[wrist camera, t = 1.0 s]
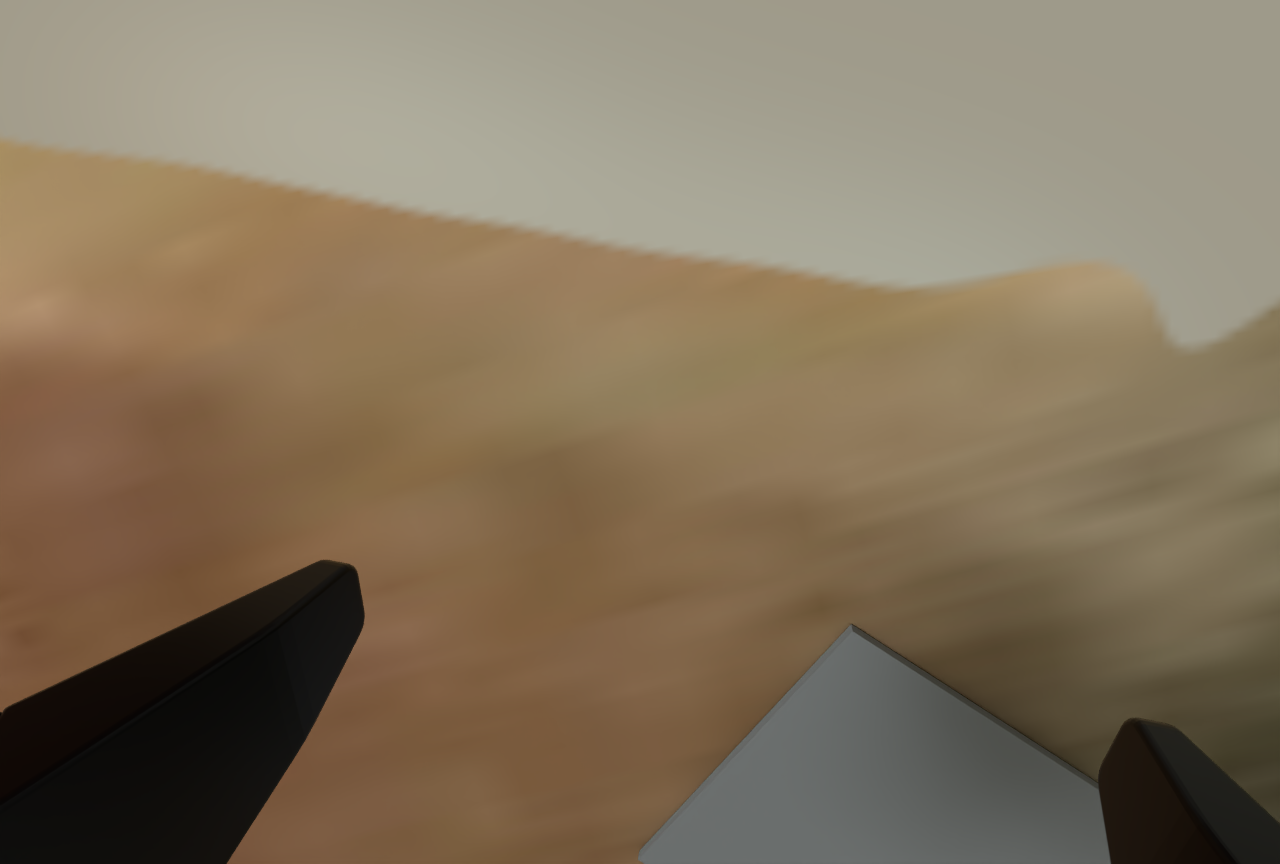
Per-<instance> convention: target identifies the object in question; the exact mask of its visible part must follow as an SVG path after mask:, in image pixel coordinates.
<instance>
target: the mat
mask: <svg viewBox="0 0 1280 864" xmlns="http://www.w3.org/2000/svg"><path fill="white" fill-rule="evenodd" d="M638 860H639V861H641V862H643V863H644V864H1111V863H1110V857H1109V850H1108V844H1107V838H1106V832H1105V826H1104V820H1103V814H1102V808H1101V801H1100V795H1099V788H1098V783H1097V782H1095V781H1094V780H1092V779H1091V778H1089V777H1087V776H1086V775H1084V774H1083V773H1081V772H1080V771H1078V770H1077V769H1075V768H1074V767H1072V766H1070V765H1069V764H1067V763H1066V762H1064V761H1063V760H1061V759H1060V758H1058V757H1057V756H1055V755H1053V754H1052V753H1050V752H1049V751H1047V750H1046V749H1044V748H1043V747H1041V746H1039V745H1038V744H1036V743H1035V742H1033V741H1032V740H1030V739H1029V738H1027V737H1026V736H1024V735H1022V734H1021V733H1019V732H1018V731H1016V730H1015V729H1013V728H1012V727H1010V726H1008V725H1007V724H1005V723H1004V722H1002V721H1001V720H999V719H998V718H996V717H995V716H993V715H991V714H990V713H988V712H987V711H985V710H984V709H982V708H981V707H979V706H977V705H976V704H974V703H973V702H971V701H970V700H968V699H967V698H965V697H964V696H962V695H960V694H959V693H957V692H956V691H954V690H953V689H951V688H950V687H948V686H947V685H945V684H943V683H942V682H940V681H939V680H937V679H936V678H934V677H933V676H931V675H929V674H928V673H926V672H925V671H923V670H922V669H920V668H919V667H917V666H916V665H914V664H912V663H911V662H909V661H908V660H906V659H905V658H903V657H902V656H900V655H898V654H897V653H895V652H894V651H892V650H891V649H889V648H888V647H886V646H885V645H883V644H881V643H880V642H878V641H877V640H875V639H874V638H872V637H871V636H869V635H868V634H866V633H864V632H863V631H861V630H860V629H858V628H857V627H855V626H854V625H852V624H851V625H850V626H849V627H848V628H847V629H846V630H845V631H844V632H843V633H842V634H841V636H840V637H839V638H838V639H837V640H836V641H835V642H834V643H833V644H832V645H831V646H830V647H829V648H828V649H827V651H826V652H825V653H824V654H823V655H822V656H821V657H820V658H819V659H818V660H817V661H816V662H815V663H814V664H813V666H812V667H811V668H810V669H809V670H808V671H807V672H806V673H805V674H804V675H803V676H802V677H801V678H800V679H799V681H798V682H797V683H796V684H795V685H794V686H793V687H792V688H791V689H790V690H789V691H788V692H787V693H786V694H785V695H784V697H783V698H782V699H781V700H780V701H779V702H778V703H777V704H776V705H775V706H774V707H773V708H772V709H771V710H770V712H769V713H768V714H767V715H766V716H765V717H764V718H763V719H762V720H761V721H760V722H759V723H758V724H757V725H756V727H755V728H754V729H753V730H752V731H751V732H750V733H749V734H748V735H747V736H746V737H745V738H744V739H743V740H742V742H741V743H740V744H739V745H738V746H737V747H736V748H735V749H734V750H733V751H732V752H731V753H730V754H729V755H728V757H727V758H726V759H725V760H724V761H723V762H722V763H721V764H720V765H719V766H718V767H717V768H716V769H715V770H714V772H713V773H712V774H711V775H710V776H709V777H708V778H707V779H706V780H705V781H704V782H703V783H702V784H701V785H700V786H699V788H698V789H697V790H696V791H695V792H694V793H693V794H692V795H691V796H690V797H689V798H688V799H687V800H686V801H685V803H684V804H683V805H682V806H681V807H680V808H679V809H678V810H677V811H676V812H675V813H674V814H673V815H672V816H671V818H670V819H669V820H668V821H667V822H666V823H665V824H664V825H663V826H662V827H661V828H660V829H659V830H658V831H657V833H656V834H655V835H654V836H653V837H652V838H651V839H650V840H649V841H648V842H647V843H646V844H645V845H644V846H643V848H642V849H641V850H640V851H639V857H638Z"/></svg>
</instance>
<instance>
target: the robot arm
mask: <svg viewBox="0 0 1280 864" xmlns="http://www.w3.org/2000/svg"><path fill="white" fill-rule="evenodd" d="M364 617H365V614H364V606H363V600H362V595H361V589H360V583H359V577H358V573H357V570H356V569H355V567H354V566H352V565H350V564H347V563H342V562H337V561H332V560H320V561H318V562H315V563H313V564H311V565H309V566H307V567H305V568H303V569H300V570H298V571H296V572H294V573H292V574H290V575H288V576H285V577H283V578H281V579H279V580H277V581H275V582H273V583H271V584H268V585H266V586H264V587H262V588H260V589H258V590H256V591H253V592H251V593H249V594H247V595H245V596H243V597H241V598H239V599H236V600H234V601H232V602H230V603H228V604H226V605H224V606H221V607H219V608H217V609H215V610H213V611H211V612H209V613H207V614H204V615H202V616H200V617H198V618H196V619H194V620H192V621H189V622H187V623H185V624H183V625H181V626H179V627H177V628H175V629H172V630H170V631H168V632H166V633H164V634H162V635H160V636H157V637H155V638H153V639H151V640H149V641H147V642H145V643H143V644H140V645H138V646H136V647H134V648H132V649H130V650H128V651H125V652H123V653H121V654H119V655H117V656H115V657H113V658H110V659H108V660H106V661H104V662H102V663H100V664H98V665H95V666H93V667H91V668H89V669H87V670H85V671H83V672H81V673H78V674H76V675H74V676H72V677H70V678H68V679H66V680H63V681H61V682H59V683H57V684H55V685H53V686H51V687H48V688H46V689H44V690H42V691H40V692H38V693H36V694H34V695H31V696H29V697H27V698H25V699H23V700H21V701H19V702H16V703H14V704H12V705H10V706H8V707H6V708H5V709H4V711H3V712H2V713H1V712H0V864H227V862H228V861H229V859H230V857H231V856H232V854H233V853H234V851H235V850H236V848H237V847H238V845H239V843H240V842H241V840H242V839H243V837H244V836H245V834H246V833H247V831H248V829H249V828H250V826H251V825H252V823H253V822H254V820H255V819H256V817H257V815H258V814H259V812H260V811H261V809H262V808H263V806H264V805H265V803H266V801H267V800H268V798H269V797H270V795H271V794H272V792H273V791H274V789H275V787H276V786H277V784H278V783H279V781H280V780H281V778H282V777H283V775H284V773H285V772H286V770H287V769H288V767H289V766H290V764H291V763H292V761H293V759H294V758H295V756H296V755H297V753H298V751H299V750H300V748H301V746H302V745H303V743H304V741H305V740H306V738H307V736H308V734H309V733H310V731H311V729H312V727H313V725H314V723H315V722H316V720H317V718H318V716H319V714H320V712H321V710H322V708H323V706H324V704H325V702H326V700H327V698H328V696H329V694H330V692H331V690H332V688H333V686H334V684H335V682H336V680H337V678H338V676H339V674H340V672H341V670H342V669H343V667H344V665H345V663H346V661H347V659H348V657H349V655H350V653H351V651H352V649H353V647H354V645H355V643H356V641H357V639H358V637H359V635H360V633H361V631H362V628H363V624H364ZM1098 788H1099V795H1100V801H1101V808H1102V814H1103V820H1104V826H1105V832H1106V838H1107V844H1108V850H1109V857H1110V863H1111V864H1280V823H1279V822H1277V821H1276V820H1275V819H1274V818H1273V817H1272V816H1271V815H1270V814H1269V813H1268V812H1267V811H1266V810H1265V809H1264V808H1262V807H1261V806H1260V805H1259V804H1258V803H1257V802H1256V801H1255V800H1254V799H1253V798H1252V797H1251V796H1250V795H1249V794H1247V793H1246V792H1245V791H1244V790H1243V789H1242V788H1241V787H1240V786H1239V785H1238V784H1237V783H1236V782H1235V781H1234V780H1232V779H1231V778H1230V777H1229V776H1228V775H1227V774H1226V773H1225V772H1224V771H1223V770H1222V769H1221V768H1220V767H1219V766H1217V765H1216V764H1215V763H1214V762H1213V761H1212V760H1211V759H1210V758H1209V757H1208V756H1207V755H1206V754H1205V753H1204V752H1202V751H1201V750H1200V749H1199V748H1198V747H1197V746H1196V745H1195V744H1194V743H1193V742H1192V741H1191V740H1190V739H1189V738H1188V737H1186V736H1185V735H1184V734H1183V733H1182V732H1181V731H1180V730H1178V729H1177V728H1176V727H1174V726H1172V725H1169V724H1166V723H1161V722H1156V721H1151V720H1146V719H1141V718H1130V719H1128V720H1127V721H1125V722H1124V723H1123V725H1122V726H1121V728H1120V730H1119V732H1118V734H1117V736H1116V738H1115V739H1114V741H1113V743H1112V745H1111V747H1110V749H1109V751H1108V753H1107V755H1106V756H1105V758H1104V760H1103V762H1102V764H1101V767H1100V770H1099V776H1098Z"/></svg>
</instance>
